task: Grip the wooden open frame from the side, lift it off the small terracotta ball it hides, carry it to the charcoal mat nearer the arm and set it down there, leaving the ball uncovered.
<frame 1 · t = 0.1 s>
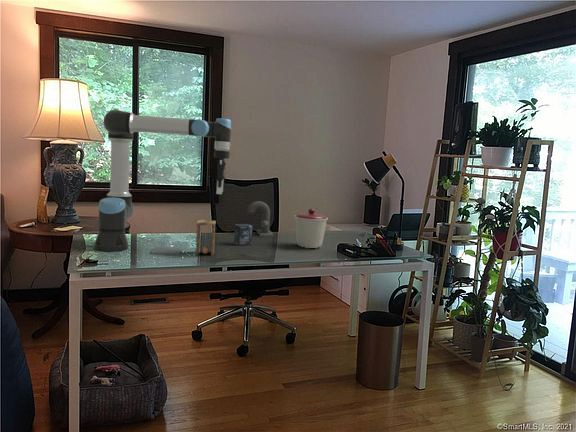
hand: (219, 192, 249), 28 cm above the table, tool pointing down, fingers open, 13 cm apart
mat: (166, 251, 236), on the table
wooden open frame: (205, 253, 237), on the table
box: (242, 244, 265), on the table
canister: (309, 247, 270), on the table
faucet: (258, 234, 299), on the table
ball: (205, 253, 237), on the table
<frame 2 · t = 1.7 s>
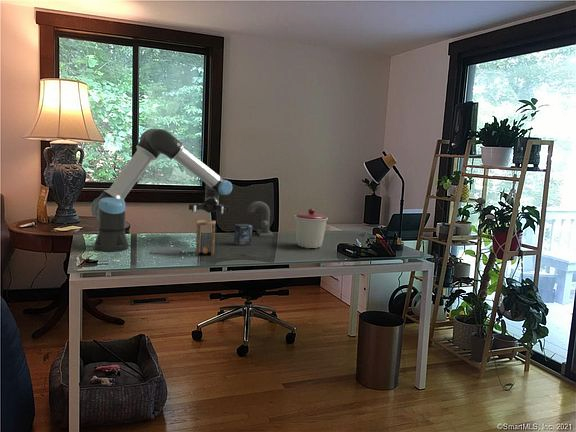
hand: (208, 210, 243), 20 cm above the table, tool horizontal, fingers open, 13 cm apart
nothing on the table moved.
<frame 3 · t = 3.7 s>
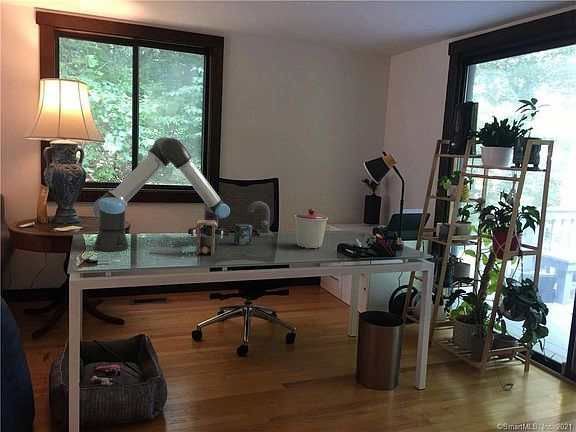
hand: (207, 235, 241), 8 cm above the table, tool horizontal, fingers open, 13 cm apart
nothing on the table moved.
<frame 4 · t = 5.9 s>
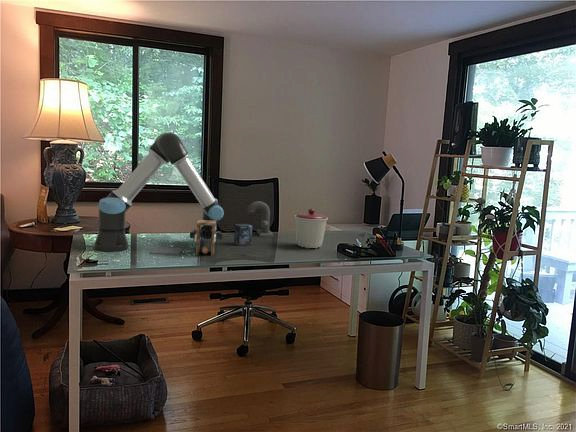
hand: (205, 239, 231), 8 cm above the table, tool horizontal, fingers closed on wooden open frame, 8 cm apart
wooden open frame: (205, 253, 237), on the table, touching gripper
everything else where it was.
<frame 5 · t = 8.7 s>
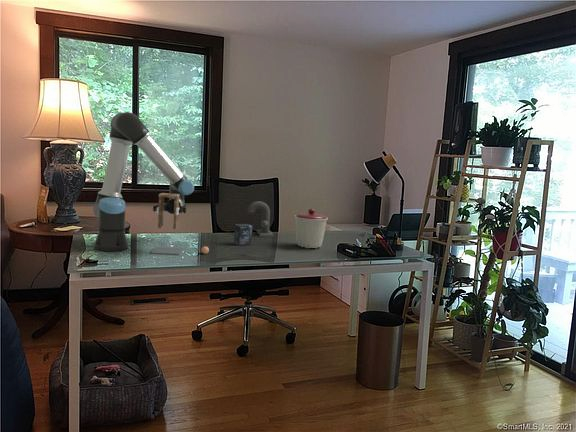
hand: (167, 211, 228), 20 cm above the table, tool horizontal, fingers closed on wooden open frame, 8 cm apart
wooden open frame: (168, 227, 234), point 12 cm above the table, touching gripper
everything else where it was.
when the fingers open (10 cm above the table, at t = 11.6 s): wooden open frame drops 1 cm, resting on mat.
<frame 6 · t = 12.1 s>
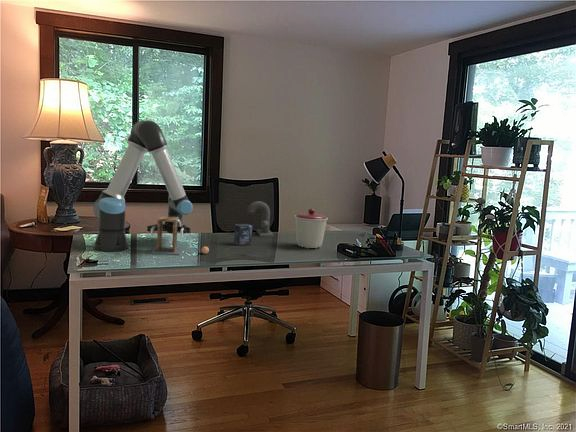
hand: (166, 232, 231), 10 cm above the table, tool horizontal, fingers open, 13 cm apart
wooden open frame: (166, 250, 236), point 1 cm above the table, touching mat
everything else where it was.
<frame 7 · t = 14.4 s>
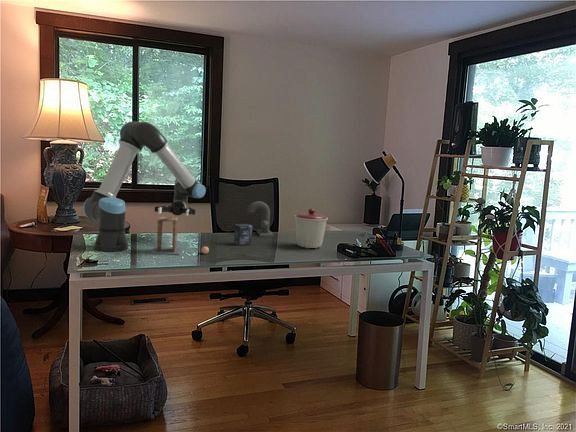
hand: (172, 212, 244), 17 cm above the table, tool horizontal, fingers open, 13 cm apart
nothing on the table moved.
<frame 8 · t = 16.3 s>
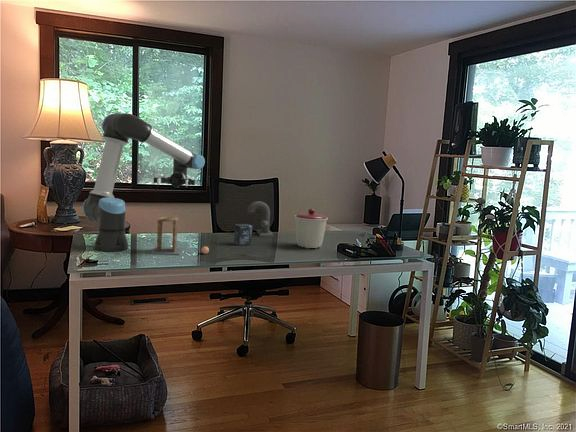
hand: (172, 182, 242), 32 cm above the table, tool horizontal, fingers open, 13 cm apart
nothing on the table moved.
at the end: wooden open frame inside the target area on the mat (0.1 cm from its centre), point 0.6 cm above the mat's base; wooden open frame tilted 0°; ball moved 0.0 cm from its start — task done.
